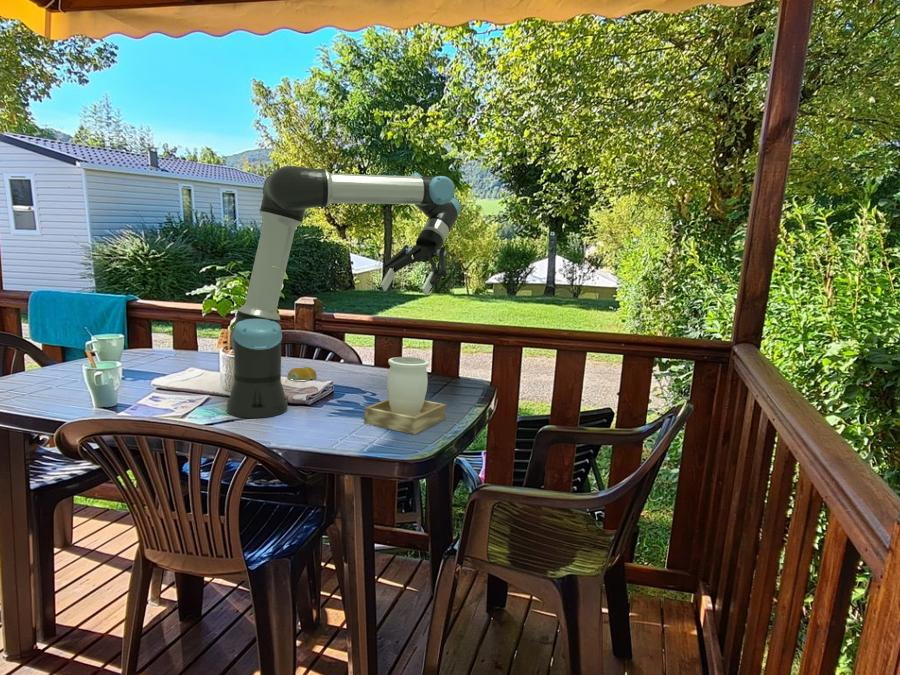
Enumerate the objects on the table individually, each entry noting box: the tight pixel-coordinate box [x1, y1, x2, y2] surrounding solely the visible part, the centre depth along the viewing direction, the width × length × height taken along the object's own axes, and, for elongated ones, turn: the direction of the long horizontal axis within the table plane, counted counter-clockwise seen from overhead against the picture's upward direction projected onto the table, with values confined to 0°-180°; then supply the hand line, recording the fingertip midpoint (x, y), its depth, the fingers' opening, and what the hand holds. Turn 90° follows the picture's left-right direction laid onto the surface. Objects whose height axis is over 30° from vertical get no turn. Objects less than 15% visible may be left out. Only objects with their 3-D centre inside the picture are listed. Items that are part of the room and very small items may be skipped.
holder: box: [363, 399, 447, 436], centre depth 151 cm, size 15×16×4 cm
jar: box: [386, 356, 430, 417], centre depth 150 cm, size 11×10×15 cm
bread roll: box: [287, 366, 317, 381], centre depth 190 cm, size 8×9×4 cm
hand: (403, 289), depth 163 cm, fingers open, 13 cm apart
